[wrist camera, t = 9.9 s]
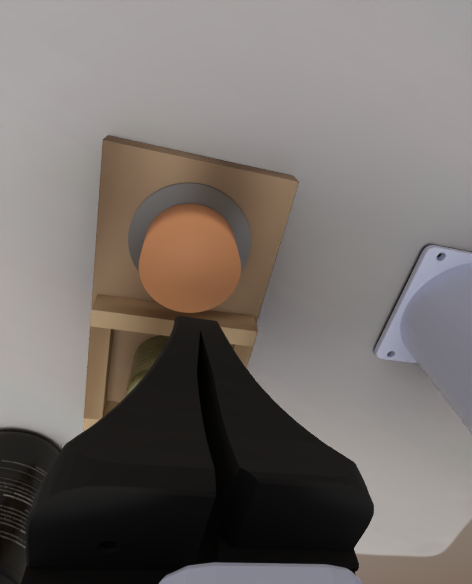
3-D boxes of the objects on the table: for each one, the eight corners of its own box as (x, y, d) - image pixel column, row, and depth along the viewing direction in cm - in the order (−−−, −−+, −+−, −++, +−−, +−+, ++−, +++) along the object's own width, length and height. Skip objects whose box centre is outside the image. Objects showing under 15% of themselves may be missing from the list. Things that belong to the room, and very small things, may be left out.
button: (244, 213, 19) (251, 231, 17) (225, 293, 21) (228, 318, 19) (150, 195, 18) (145, 212, 16) (139, 280, 20) (133, 305, 18)
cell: (208, 340, 23) (213, 430, 17) (194, 391, 25) (194, 489, 19) (138, 329, 22) (118, 420, 16) (128, 383, 24) (107, 482, 18)
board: (293, 175, 20) (306, 190, 18) (219, 427, 28) (222, 459, 26) (107, 135, 18) (95, 146, 16) (87, 416, 27) (77, 450, 24)
